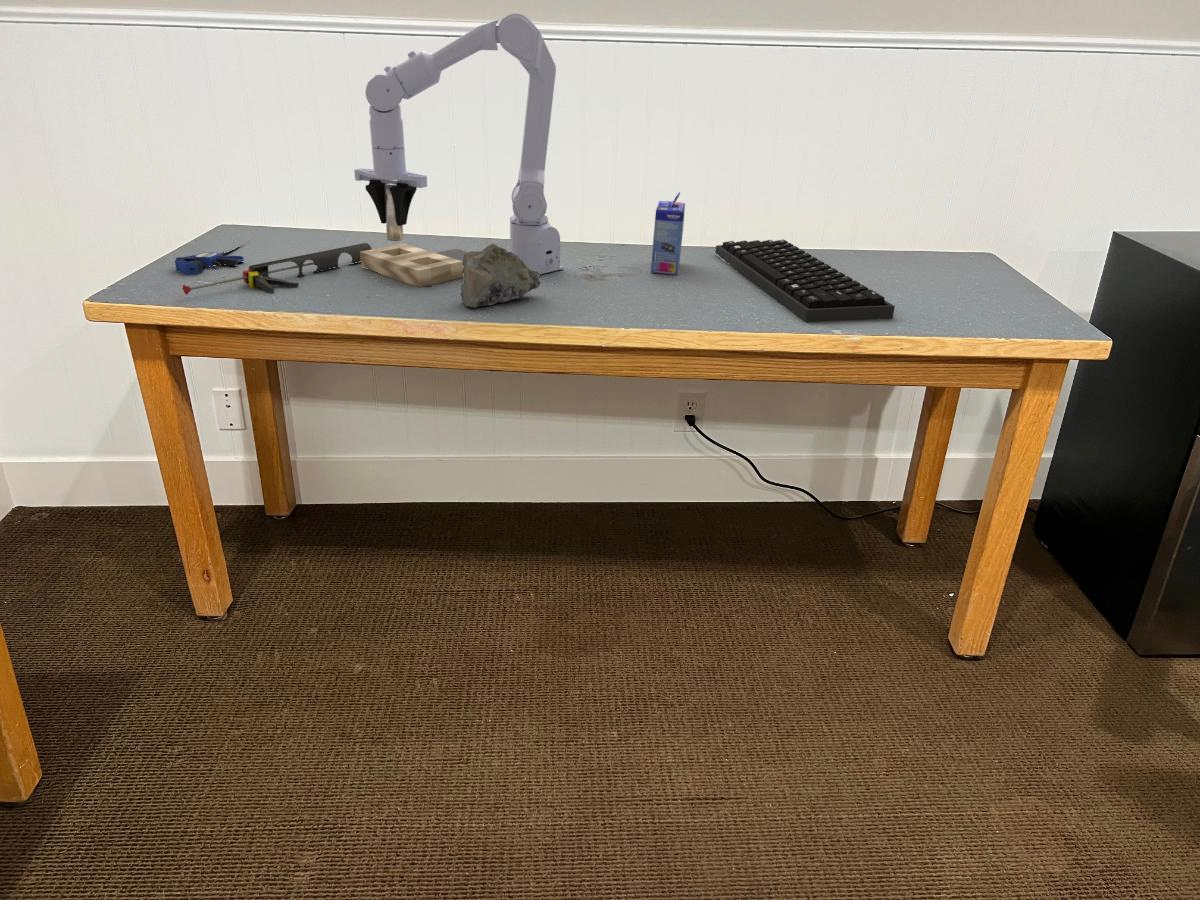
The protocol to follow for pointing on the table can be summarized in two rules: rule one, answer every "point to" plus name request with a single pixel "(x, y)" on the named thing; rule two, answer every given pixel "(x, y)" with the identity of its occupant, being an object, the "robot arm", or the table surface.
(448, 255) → the mat
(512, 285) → the mineral rock
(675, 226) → the ink cartridge box
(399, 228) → the peg
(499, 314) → the table surface
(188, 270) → the bar clamp
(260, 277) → the caulking gun
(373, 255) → the hole block
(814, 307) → the computer keyboard
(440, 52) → the robot arm
